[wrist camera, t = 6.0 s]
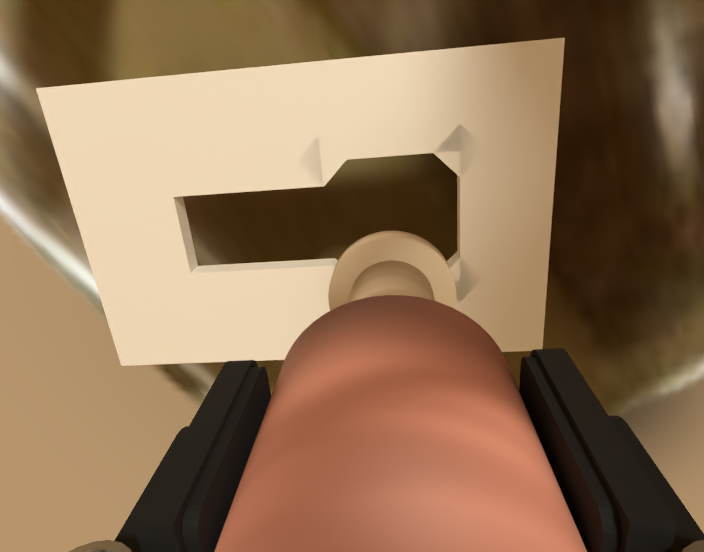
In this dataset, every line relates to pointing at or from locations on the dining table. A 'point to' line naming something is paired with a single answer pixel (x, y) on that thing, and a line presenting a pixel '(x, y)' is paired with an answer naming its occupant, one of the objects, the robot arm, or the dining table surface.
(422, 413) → the peg
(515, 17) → the dining table surface
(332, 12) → the dining table surface
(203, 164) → the keyhole plate
